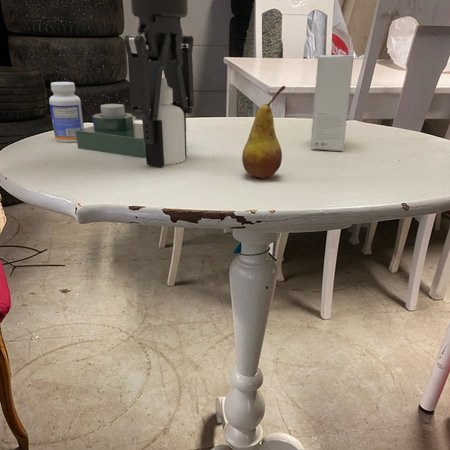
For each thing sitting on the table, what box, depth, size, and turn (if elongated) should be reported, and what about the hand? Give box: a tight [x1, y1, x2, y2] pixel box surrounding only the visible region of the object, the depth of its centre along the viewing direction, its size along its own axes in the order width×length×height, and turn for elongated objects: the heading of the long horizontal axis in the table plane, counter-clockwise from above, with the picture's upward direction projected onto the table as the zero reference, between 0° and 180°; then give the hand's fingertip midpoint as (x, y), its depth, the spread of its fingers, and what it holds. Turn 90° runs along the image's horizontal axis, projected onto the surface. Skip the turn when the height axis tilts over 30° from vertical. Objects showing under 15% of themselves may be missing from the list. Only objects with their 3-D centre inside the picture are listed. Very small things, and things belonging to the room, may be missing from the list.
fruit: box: [241, 85, 286, 179], centre depth 64 cm, size 6×6×12 cm
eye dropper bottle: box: [150, 77, 186, 166], centre depth 70 cm, size 4×6×12 cm
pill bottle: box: [48, 81, 85, 144], centre depth 85 cm, size 5×5×10 cm
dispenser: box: [76, 112, 146, 158], centre depth 81 cm, size 14×11×5 cm
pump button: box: [100, 103, 126, 118], centre depth 81 cm, size 4×4×2 cm
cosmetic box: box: [310, 54, 355, 152], centre depth 82 cm, size 8×6×15 cm
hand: (167, 160), depth 73 cm, fingers open, 6 cm apart
